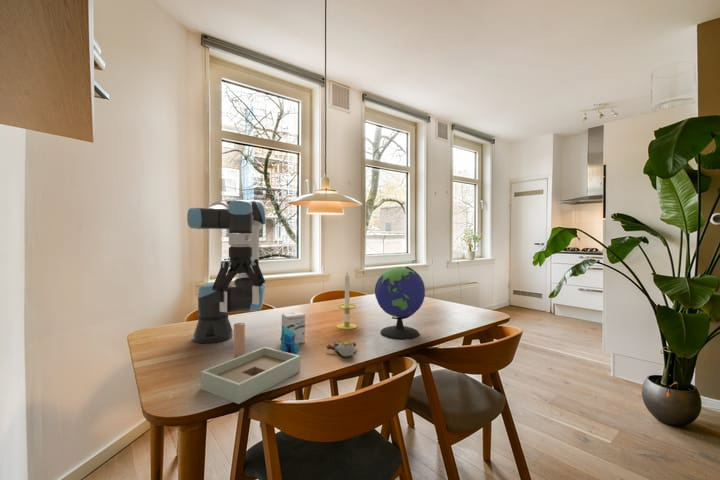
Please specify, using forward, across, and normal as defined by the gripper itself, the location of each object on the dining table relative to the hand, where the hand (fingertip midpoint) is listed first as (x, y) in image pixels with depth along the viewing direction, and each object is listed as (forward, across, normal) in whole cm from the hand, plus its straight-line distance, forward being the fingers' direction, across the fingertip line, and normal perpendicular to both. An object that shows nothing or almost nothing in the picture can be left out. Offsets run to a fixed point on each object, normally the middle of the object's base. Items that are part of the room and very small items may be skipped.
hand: (240, 307), depth 112 cm
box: (+19, -8, -15) cm, 25 cm away
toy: (+19, +26, -25) cm, 41 cm away
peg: (+19, 0, 0) cm, 19 cm away
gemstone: (+19, +11, -13) cm, 25 cm away
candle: (+19, +56, -8) cm, 59 cm away
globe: (+19, +58, -34) cm, 70 cm away
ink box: (+19, +25, -2) cm, 31 cm away
